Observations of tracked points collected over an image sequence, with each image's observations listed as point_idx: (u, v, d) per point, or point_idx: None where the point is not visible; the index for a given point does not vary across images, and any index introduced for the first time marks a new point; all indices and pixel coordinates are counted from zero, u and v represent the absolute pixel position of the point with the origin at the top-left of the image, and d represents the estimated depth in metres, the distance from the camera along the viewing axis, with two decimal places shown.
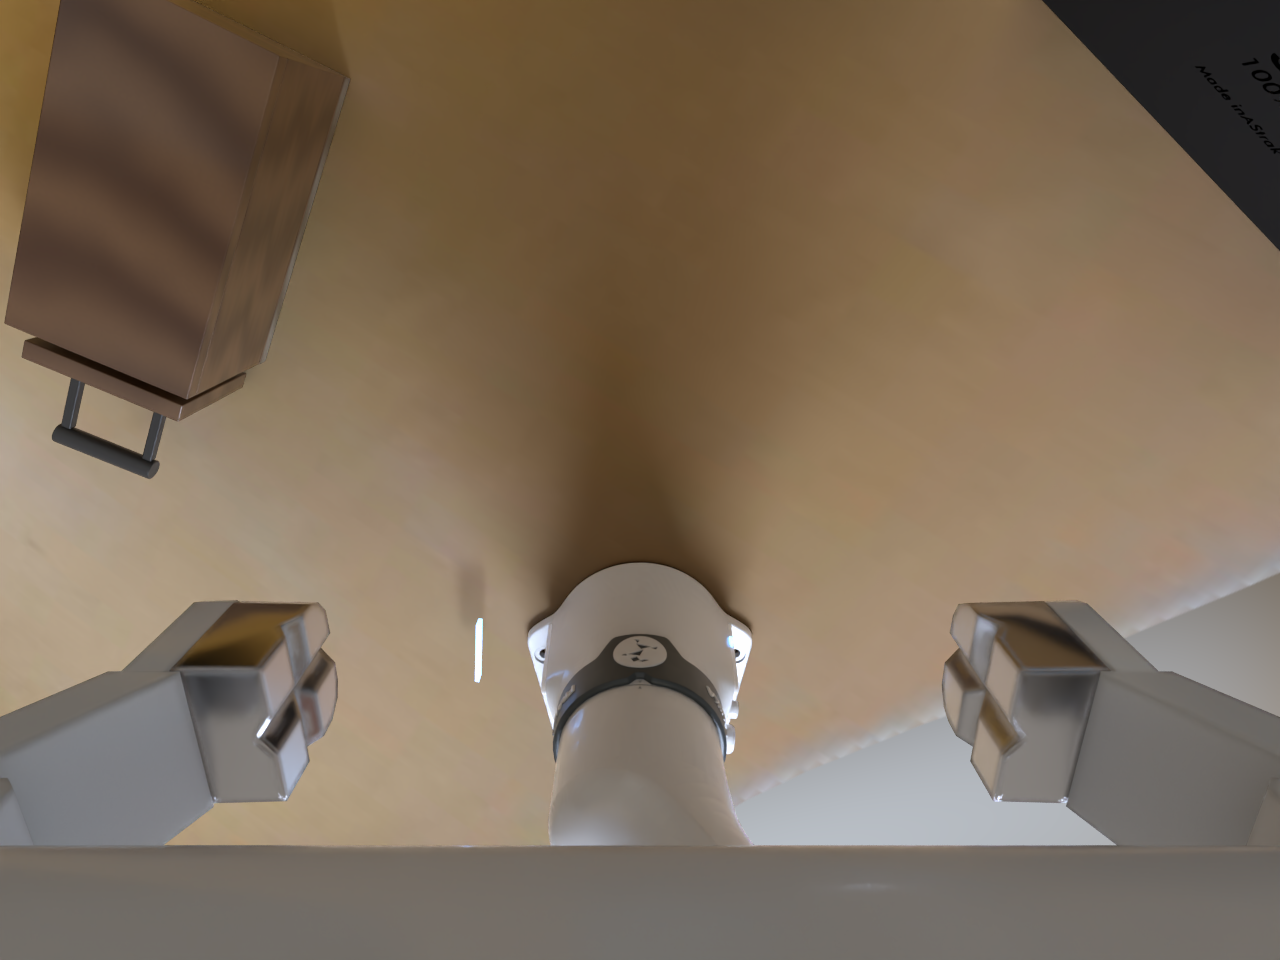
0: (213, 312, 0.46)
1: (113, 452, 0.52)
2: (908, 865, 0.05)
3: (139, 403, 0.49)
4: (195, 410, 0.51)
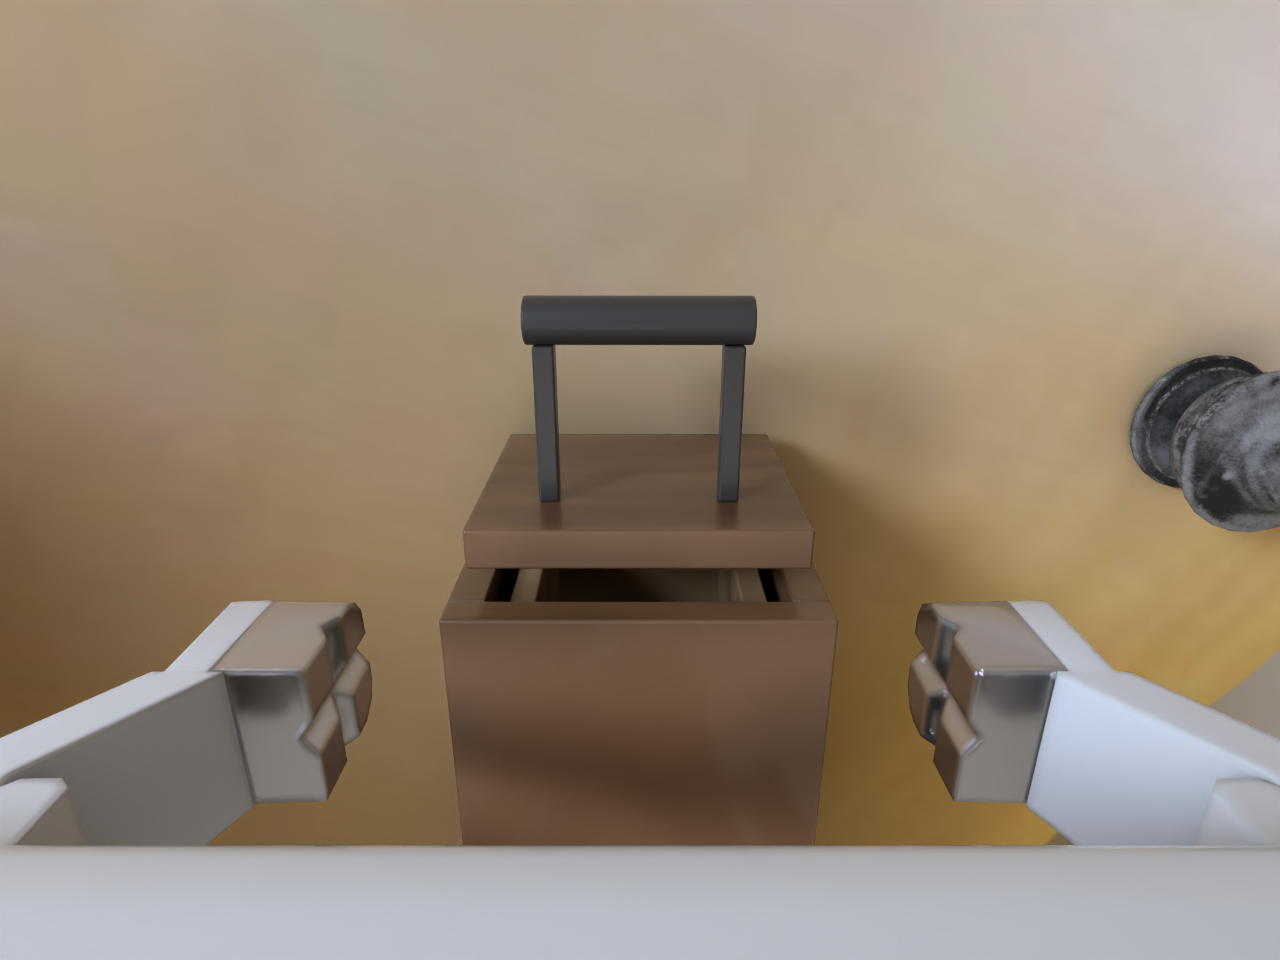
0: (458, 781, 0.23)
1: (614, 339, 0.21)
2: (908, 865, 0.05)
3: (552, 537, 0.21)
4: None
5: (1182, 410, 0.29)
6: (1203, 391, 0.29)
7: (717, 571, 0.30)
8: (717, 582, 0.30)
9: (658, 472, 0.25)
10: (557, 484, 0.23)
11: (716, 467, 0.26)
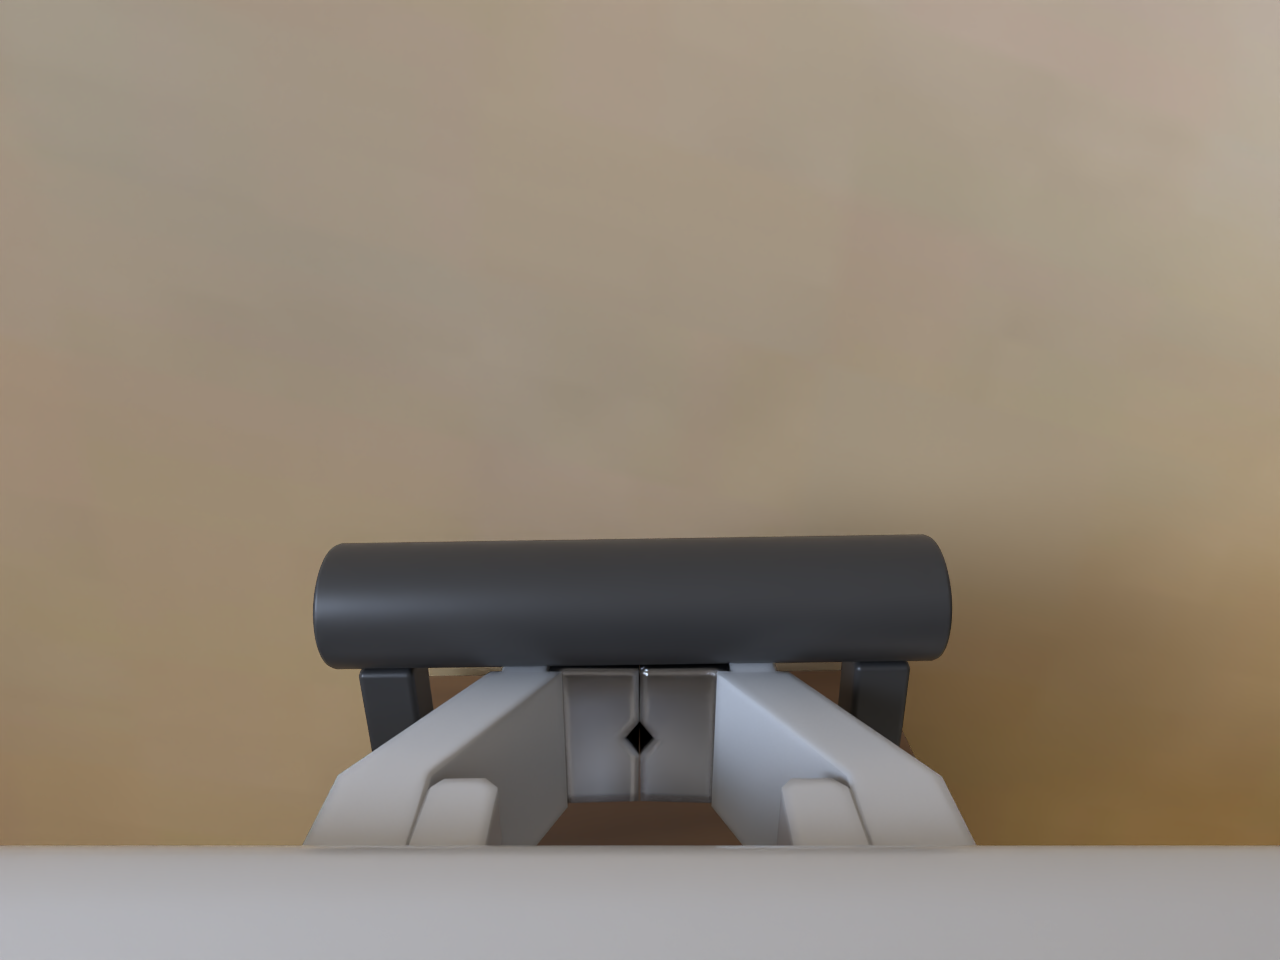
0: None
1: (567, 661, 0.08)
2: (908, 865, 0.05)
3: None
4: None
5: None
6: None
7: None
8: None
9: (681, 824, 0.12)
10: None
11: None
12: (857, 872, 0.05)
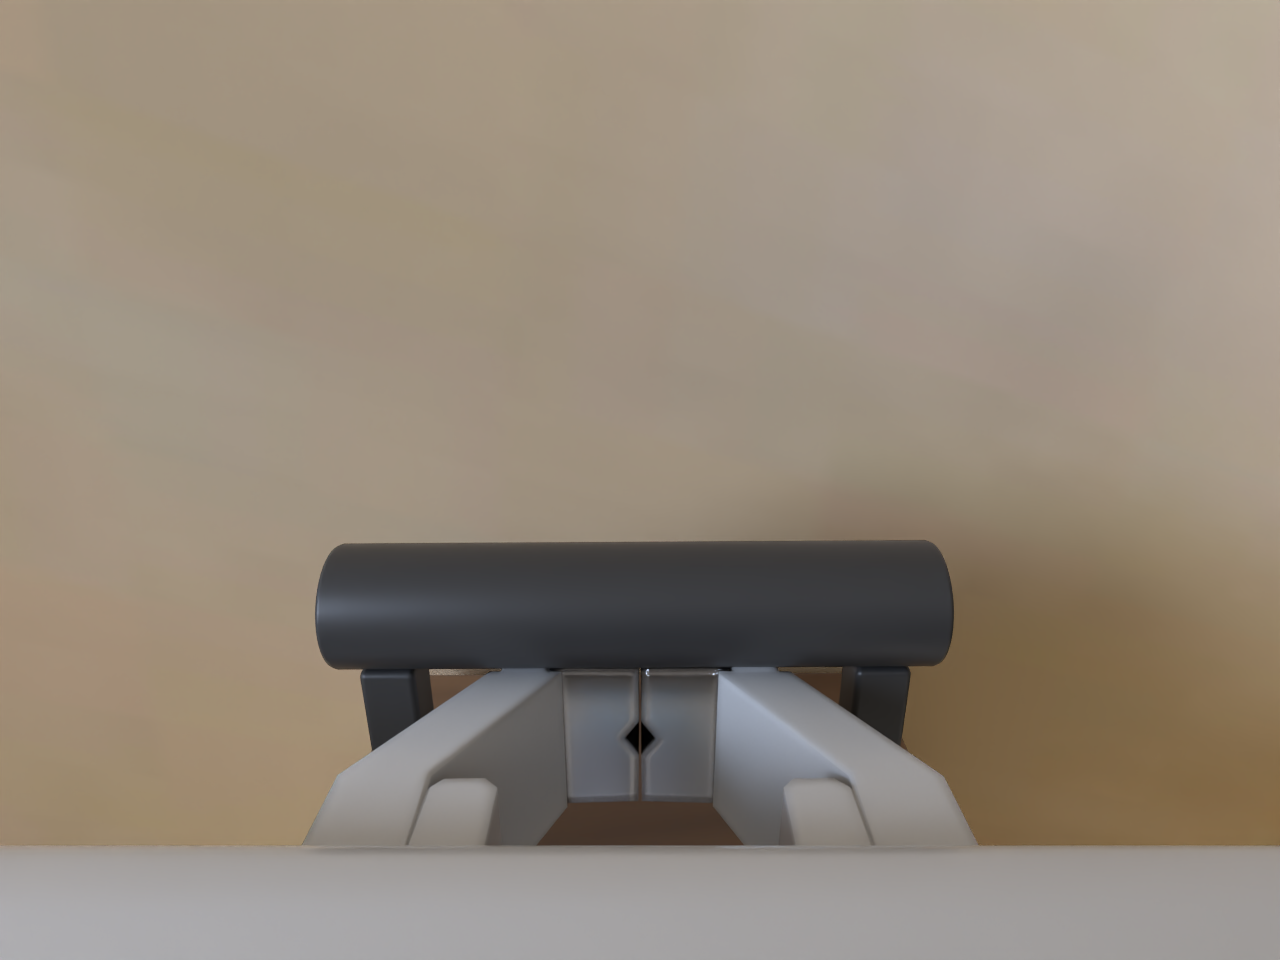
0: None
1: (569, 664, 0.08)
2: (908, 865, 0.05)
3: None
4: None
5: None
6: None
7: None
8: None
9: (679, 827, 0.12)
10: None
11: None
12: (857, 873, 0.05)
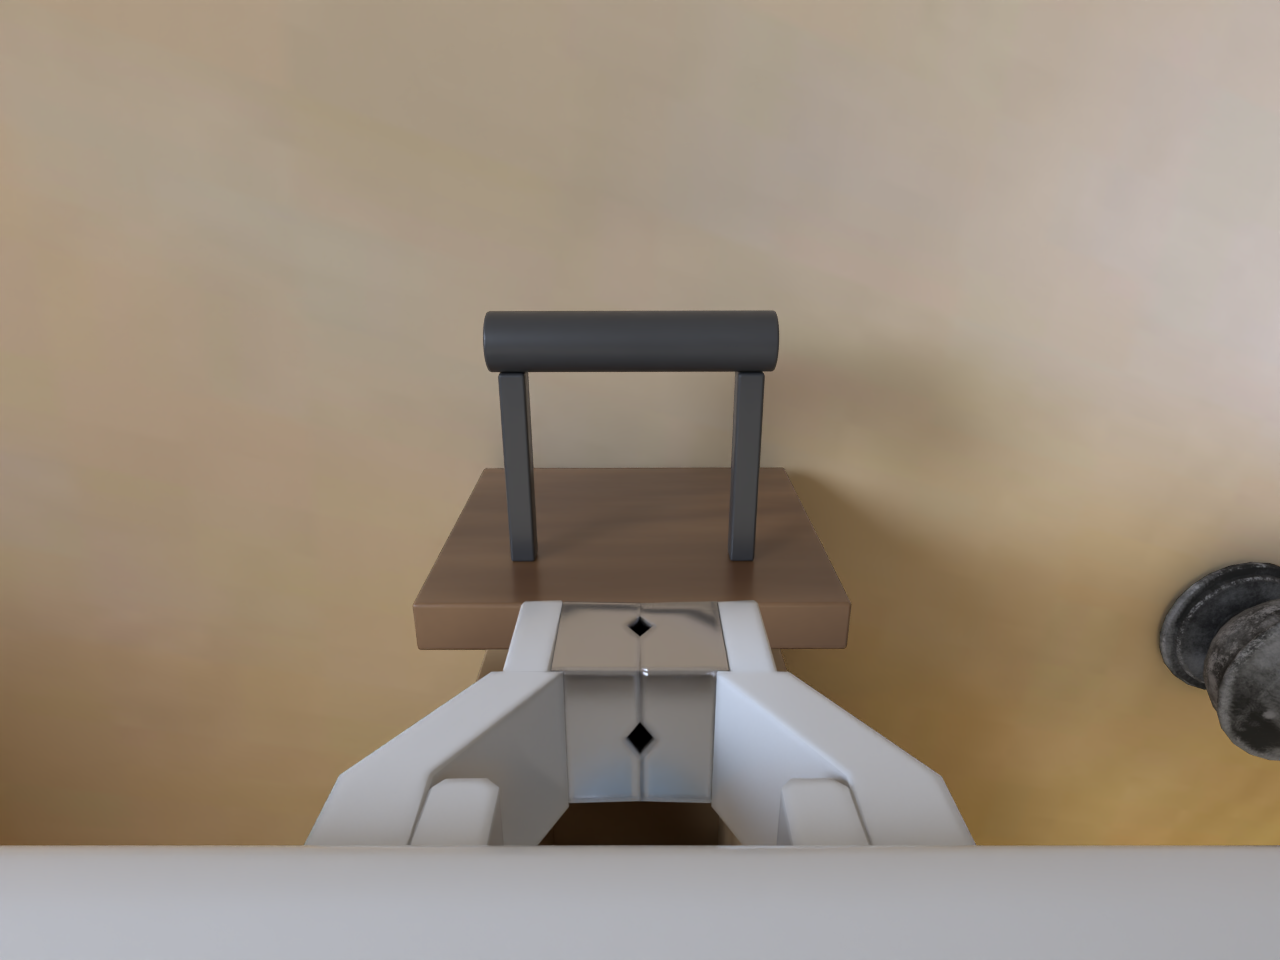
0: None
1: (600, 365, 0.17)
2: (908, 865, 0.05)
3: None
4: None
5: (1216, 619, 0.27)
6: (1238, 600, 0.27)
7: None
8: None
9: (656, 519, 0.21)
10: (532, 541, 0.19)
11: (726, 512, 0.22)
12: (857, 872, 0.05)
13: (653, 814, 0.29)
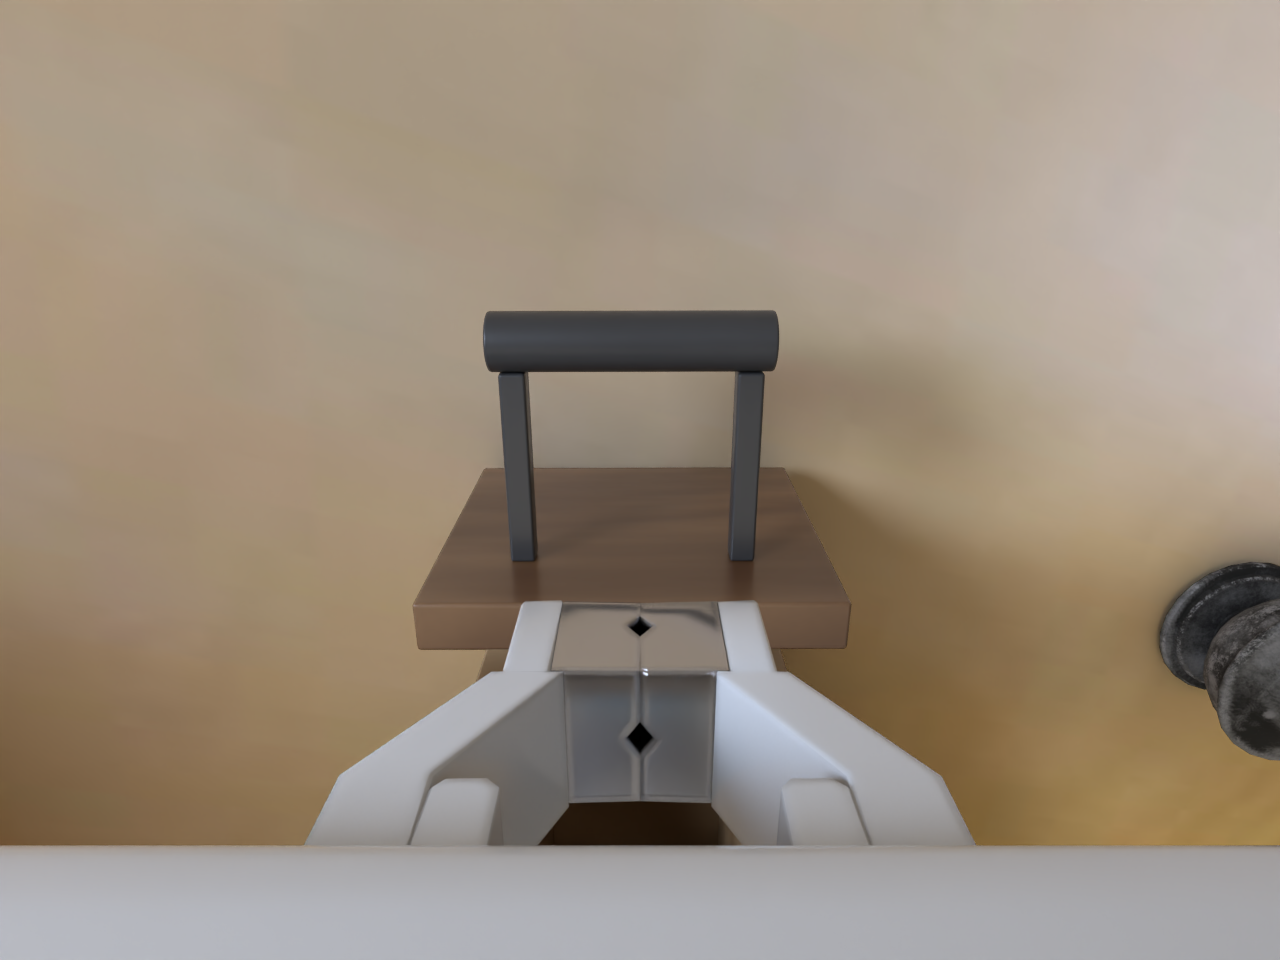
0: None
1: (600, 365, 0.17)
2: (908, 865, 0.05)
3: None
4: None
5: (1216, 618, 0.27)
6: (1239, 600, 0.27)
7: None
8: None
9: (656, 519, 0.21)
10: (532, 541, 0.19)
11: (726, 512, 0.22)
12: (857, 872, 0.05)
13: (653, 814, 0.29)
